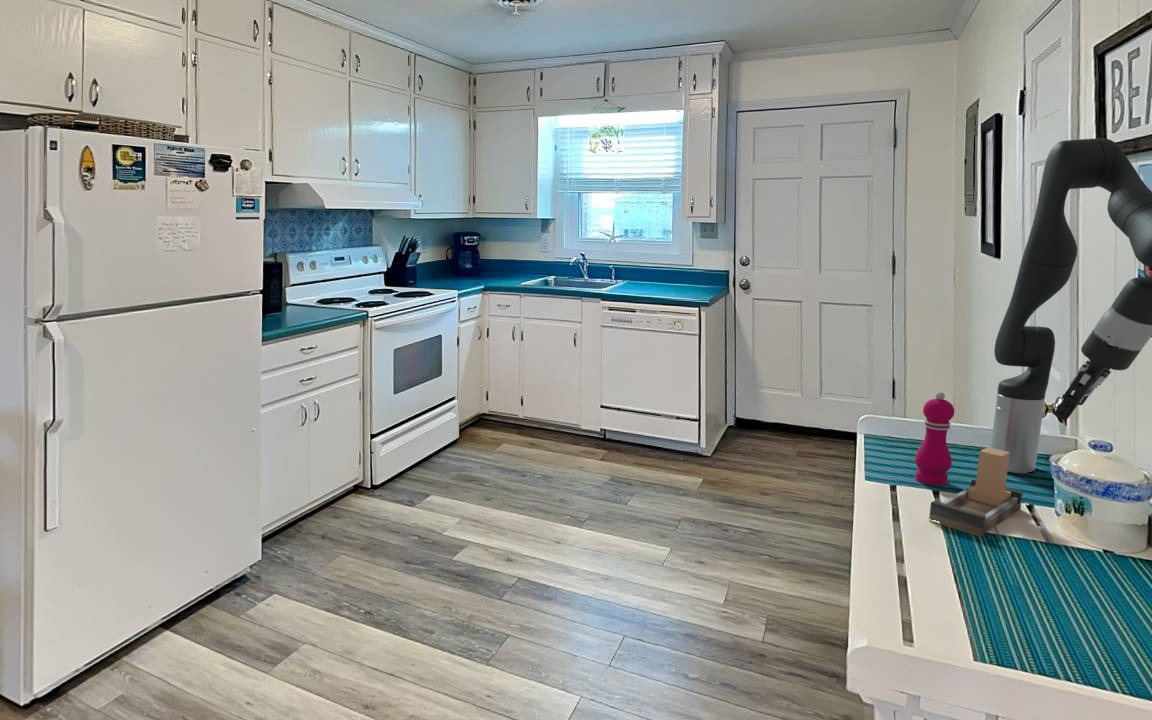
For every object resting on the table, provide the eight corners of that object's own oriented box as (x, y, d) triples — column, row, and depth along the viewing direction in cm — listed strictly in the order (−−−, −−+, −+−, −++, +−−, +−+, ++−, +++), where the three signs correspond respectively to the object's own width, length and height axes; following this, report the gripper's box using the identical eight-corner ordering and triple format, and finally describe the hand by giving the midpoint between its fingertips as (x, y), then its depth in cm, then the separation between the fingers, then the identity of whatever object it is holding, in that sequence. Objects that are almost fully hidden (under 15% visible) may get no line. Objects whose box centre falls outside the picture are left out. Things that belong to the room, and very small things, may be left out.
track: (971, 496, 145) (973, 479, 144) (1020, 509, 138) (1022, 491, 137) (929, 520, 132) (931, 502, 131) (980, 536, 125) (982, 517, 124)
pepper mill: (954, 487, 149) (964, 396, 146) (917, 484, 151) (927, 394, 147) (943, 476, 156) (953, 389, 153) (909, 473, 158) (917, 387, 154)
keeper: (977, 492, 142) (983, 445, 140) (1010, 501, 138) (1016, 452, 136) (967, 498, 139) (973, 450, 137) (1000, 507, 134) (1006, 457, 133)
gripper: (1107, 316, 126) (1059, 387, 135) (1082, 336, 118) (1033, 410, 127) (1154, 336, 122) (1101, 408, 131) (1131, 359, 113) (1076, 434, 122)
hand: (1067, 409), depth 129 cm, fingers open, 8 cm apart
